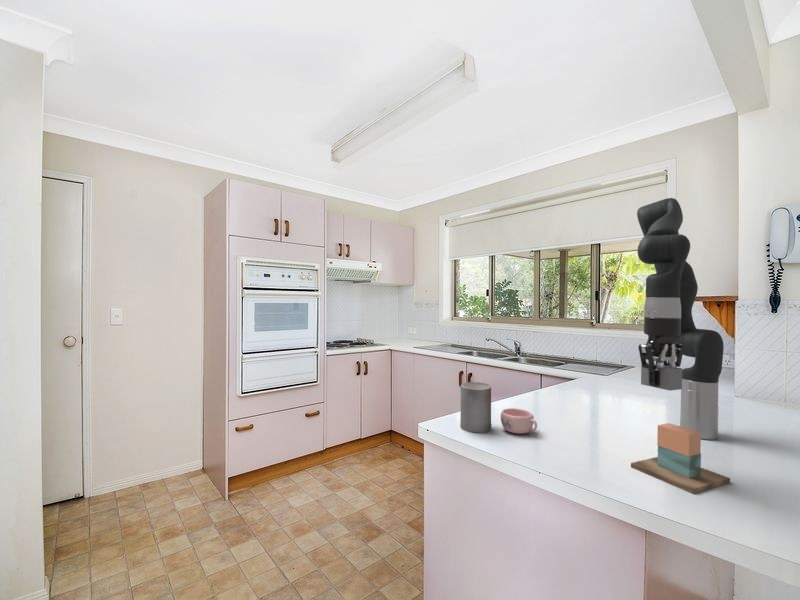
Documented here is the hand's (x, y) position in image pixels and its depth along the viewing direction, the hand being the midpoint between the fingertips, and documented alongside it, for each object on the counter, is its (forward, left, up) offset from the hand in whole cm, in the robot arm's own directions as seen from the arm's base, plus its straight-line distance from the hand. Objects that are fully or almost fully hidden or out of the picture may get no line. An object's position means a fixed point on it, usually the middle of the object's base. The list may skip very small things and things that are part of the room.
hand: (661, 384), depth 93 cm
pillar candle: (+26, -41, -21) cm, 53 cm away
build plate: (-1, +4, -21) cm, 21 cm away
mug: (+15, -33, -21) cm, 42 cm away
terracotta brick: (-1, +3, -15) cm, 15 cm away
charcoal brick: (0, 0, -1) cm, 1 cm away
